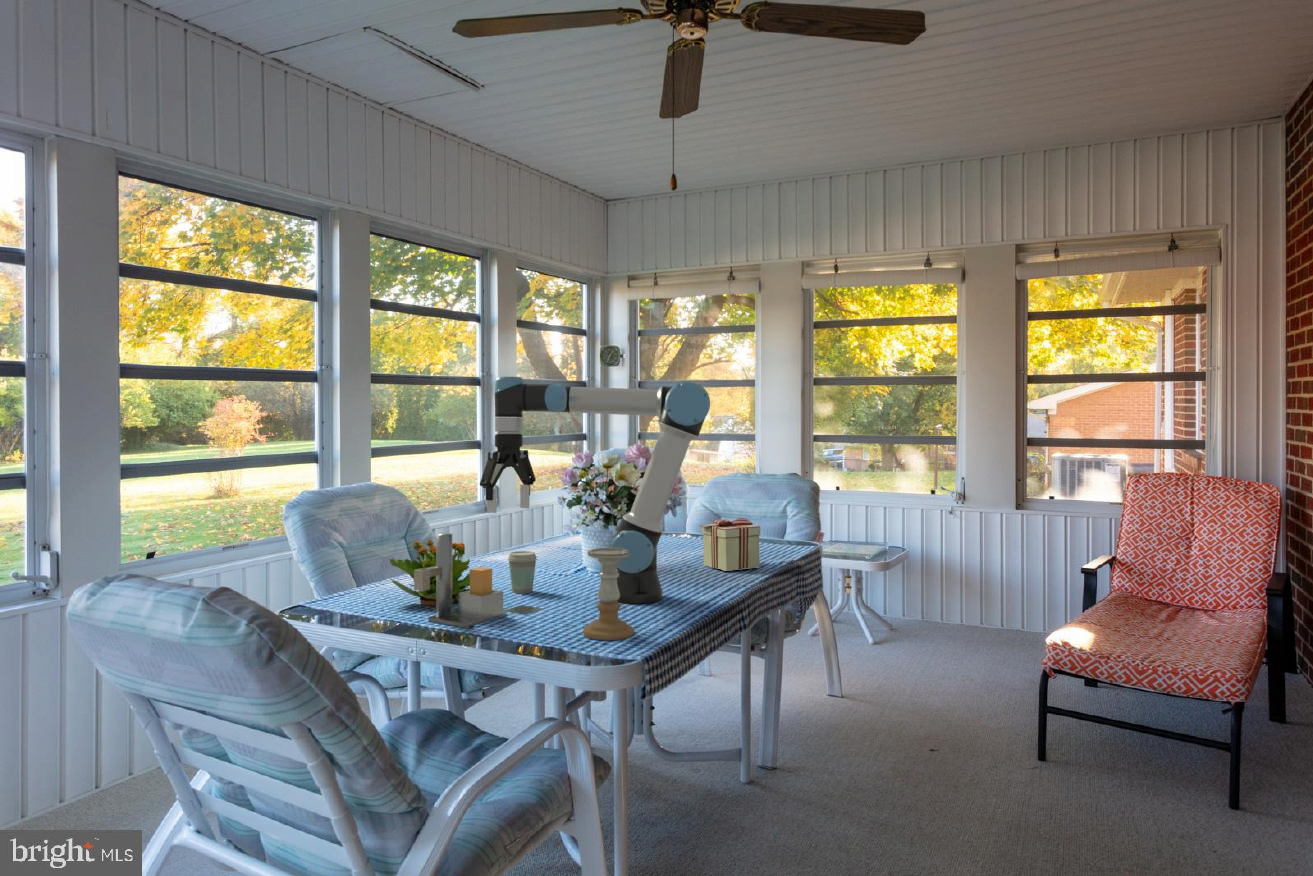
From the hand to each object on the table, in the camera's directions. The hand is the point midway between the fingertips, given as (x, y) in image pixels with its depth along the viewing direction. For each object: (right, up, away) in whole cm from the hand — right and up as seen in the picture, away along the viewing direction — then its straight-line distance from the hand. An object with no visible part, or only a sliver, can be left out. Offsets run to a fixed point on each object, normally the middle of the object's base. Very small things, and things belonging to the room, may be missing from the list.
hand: (508, 510), depth 229 cm
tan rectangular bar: (-5, -26, -14) cm, 30 cm away
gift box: (+66, -26, +64) cm, 95 cm away
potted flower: (-21, -27, +5) cm, 34 cm away
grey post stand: (-9, -27, -17) cm, 33 cm away
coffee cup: (+1, -26, +18) cm, 32 cm away
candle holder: (+29, -28, -28) cm, 49 cm away
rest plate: (+5, -27, -6) cm, 28 cm away
